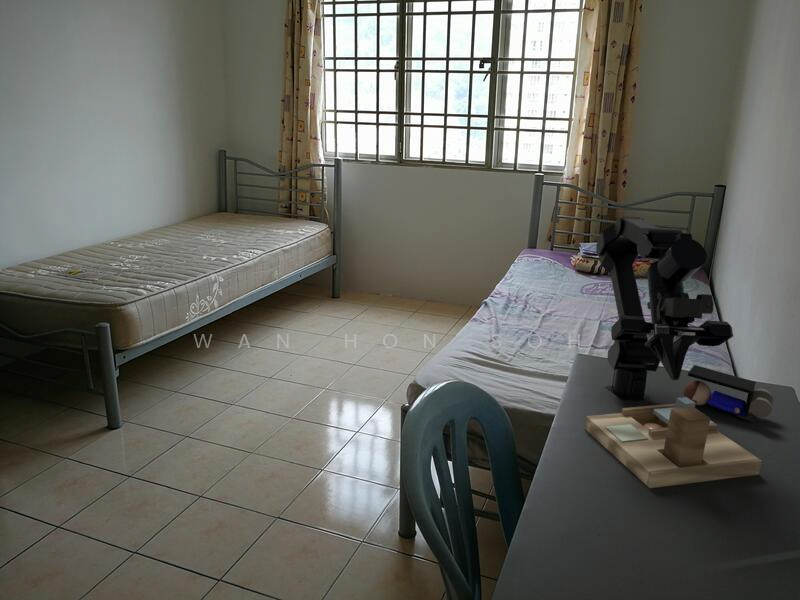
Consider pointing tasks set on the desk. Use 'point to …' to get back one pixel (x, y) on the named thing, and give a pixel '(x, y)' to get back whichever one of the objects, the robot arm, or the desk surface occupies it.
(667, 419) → the lid
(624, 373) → the robot arm
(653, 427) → the ball
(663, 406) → the puzzle board
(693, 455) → the peg
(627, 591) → the desk surface
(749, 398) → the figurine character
